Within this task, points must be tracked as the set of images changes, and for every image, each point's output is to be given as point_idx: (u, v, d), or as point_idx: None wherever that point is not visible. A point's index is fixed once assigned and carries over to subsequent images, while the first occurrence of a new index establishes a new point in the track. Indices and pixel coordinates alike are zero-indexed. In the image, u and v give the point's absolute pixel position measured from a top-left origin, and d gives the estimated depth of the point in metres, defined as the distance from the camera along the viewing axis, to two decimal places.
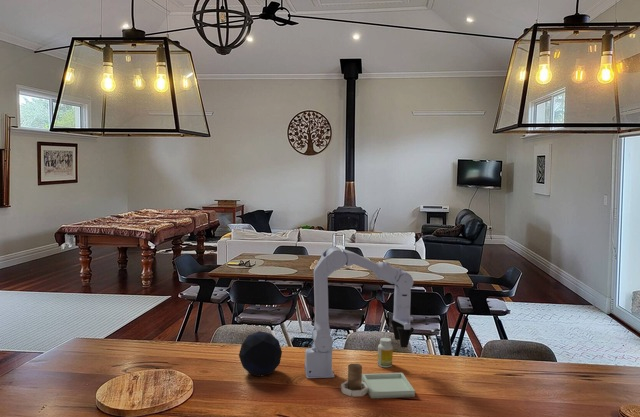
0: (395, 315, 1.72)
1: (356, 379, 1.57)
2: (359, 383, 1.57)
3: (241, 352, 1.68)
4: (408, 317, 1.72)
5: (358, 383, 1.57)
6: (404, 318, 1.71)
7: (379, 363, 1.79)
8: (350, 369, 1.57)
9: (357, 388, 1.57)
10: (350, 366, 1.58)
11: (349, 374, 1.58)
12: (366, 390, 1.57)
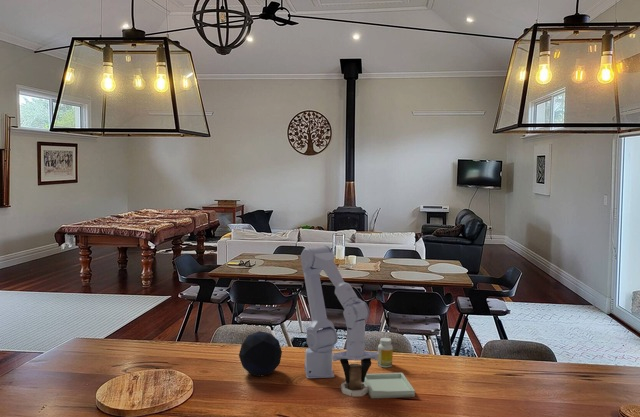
0: None
1: (356, 379, 1.57)
2: (359, 383, 1.57)
3: (241, 352, 1.68)
4: (349, 353, 1.56)
5: (358, 383, 1.57)
6: (346, 352, 1.58)
7: (379, 363, 1.79)
8: (350, 369, 1.57)
9: (357, 387, 1.57)
10: (350, 366, 1.58)
11: (349, 374, 1.58)
12: (366, 390, 1.57)
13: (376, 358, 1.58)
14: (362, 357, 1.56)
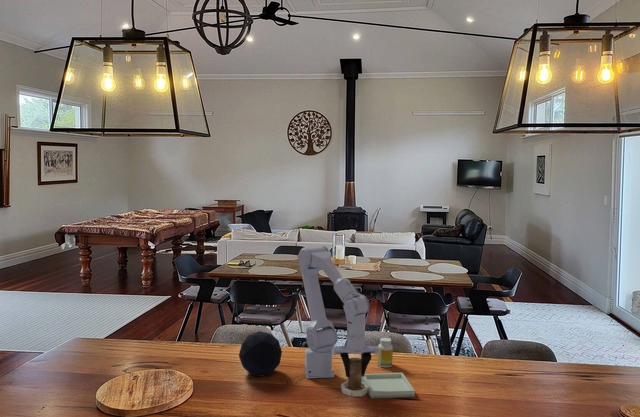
0: None
1: (356, 373, 1.57)
2: (359, 377, 1.57)
3: (241, 352, 1.68)
4: (349, 347, 1.56)
5: (359, 377, 1.57)
6: (346, 346, 1.58)
7: (379, 363, 1.79)
8: (350, 363, 1.57)
9: (357, 381, 1.57)
10: (350, 360, 1.58)
11: (349, 368, 1.58)
12: (366, 390, 1.57)
13: (376, 352, 1.58)
14: (362, 351, 1.56)
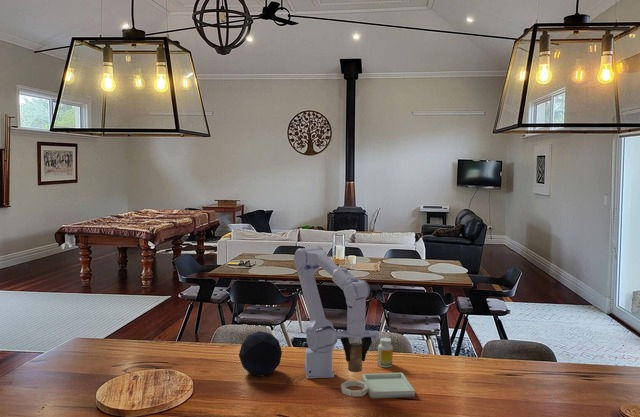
0: None
1: (356, 358, 1.56)
2: (360, 362, 1.57)
3: (241, 352, 1.68)
4: (350, 332, 1.56)
5: (359, 361, 1.57)
6: (347, 331, 1.57)
7: (379, 363, 1.79)
8: (350, 348, 1.57)
9: (358, 366, 1.57)
10: (350, 345, 1.58)
11: (349, 353, 1.57)
12: (366, 390, 1.57)
13: (377, 337, 1.58)
14: (363, 335, 1.56)
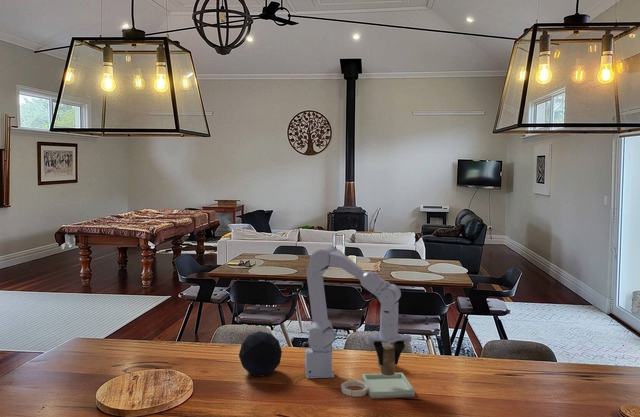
0: None
1: (390, 361, 1.59)
2: (393, 365, 1.59)
3: (241, 352, 1.68)
4: (383, 336, 1.58)
5: (392, 365, 1.59)
6: (380, 334, 1.60)
7: None
8: (384, 351, 1.59)
9: (391, 370, 1.59)
10: (383, 348, 1.60)
11: (383, 356, 1.60)
12: (366, 390, 1.57)
13: (409, 340, 1.60)
14: (396, 339, 1.58)
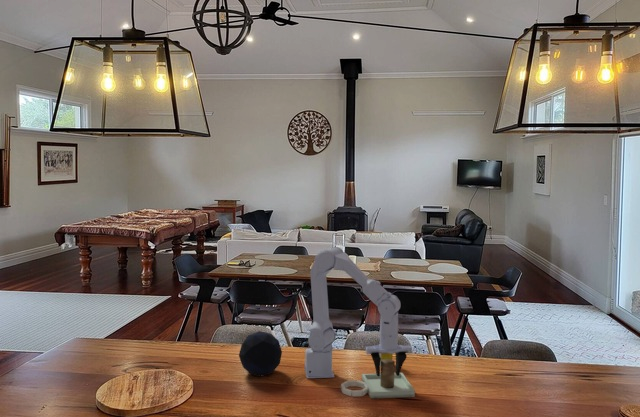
0: None
1: (389, 374, 1.59)
2: (392, 378, 1.60)
3: (241, 352, 1.68)
4: (383, 347, 1.58)
5: (391, 378, 1.59)
6: (380, 345, 1.60)
7: None
8: (383, 364, 1.59)
9: (390, 382, 1.59)
10: (383, 361, 1.61)
11: (382, 369, 1.60)
12: (366, 390, 1.57)
13: (409, 351, 1.60)
14: (395, 350, 1.58)
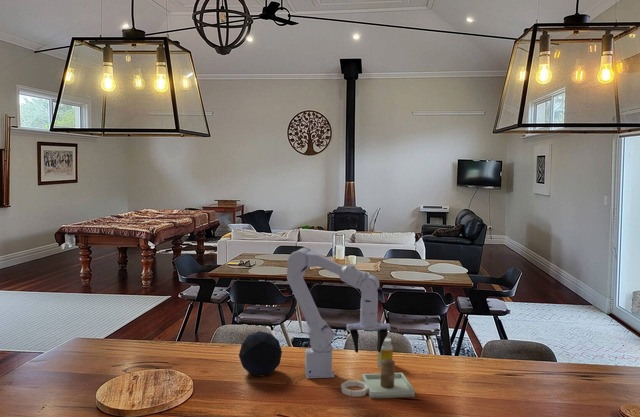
0: None
1: (389, 374, 1.59)
2: (392, 378, 1.60)
3: (241, 352, 1.68)
4: (363, 324, 1.64)
5: (391, 378, 1.59)
6: (360, 323, 1.66)
7: (379, 363, 1.79)
8: (383, 364, 1.59)
9: (390, 383, 1.59)
10: (383, 361, 1.61)
11: (382, 369, 1.60)
12: (366, 390, 1.57)
13: (388, 329, 1.66)
14: (375, 327, 1.64)
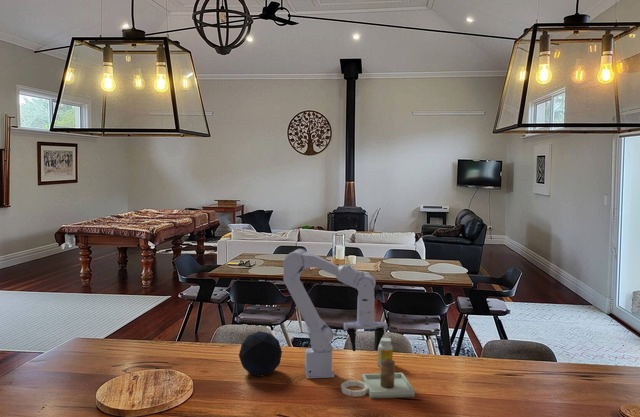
0: None
1: (389, 374, 1.59)
2: (392, 378, 1.60)
3: (241, 352, 1.68)
4: (360, 323, 1.65)
5: (392, 378, 1.59)
6: (357, 322, 1.67)
7: (379, 363, 1.79)
8: (383, 364, 1.59)
9: (390, 383, 1.59)
10: (383, 361, 1.61)
11: (382, 369, 1.60)
12: (366, 390, 1.57)
13: (385, 327, 1.67)
14: (372, 326, 1.65)
